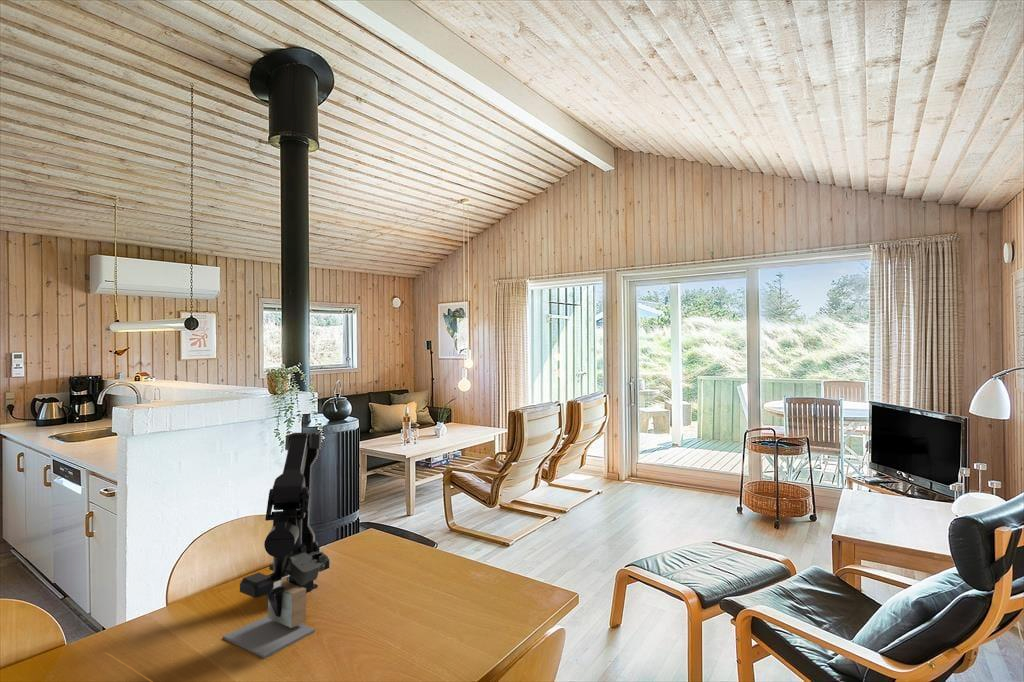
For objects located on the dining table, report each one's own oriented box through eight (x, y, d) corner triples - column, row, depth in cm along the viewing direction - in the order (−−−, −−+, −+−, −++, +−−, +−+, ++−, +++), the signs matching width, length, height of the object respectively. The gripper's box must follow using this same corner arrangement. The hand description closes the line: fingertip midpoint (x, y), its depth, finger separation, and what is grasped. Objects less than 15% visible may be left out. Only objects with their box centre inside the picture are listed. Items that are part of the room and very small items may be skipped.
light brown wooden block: (267, 618, 117) (268, 586, 117) (282, 611, 120) (282, 580, 121) (291, 628, 113) (291, 594, 113) (305, 621, 116) (306, 588, 116)
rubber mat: (222, 638, 112) (222, 635, 112) (274, 614, 122) (274, 612, 122) (264, 658, 105) (264, 655, 105) (315, 631, 115) (315, 629, 115)
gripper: (272, 562, 105) (270, 642, 105) (346, 535, 121) (345, 604, 121) (238, 550, 111) (237, 627, 110) (314, 526, 127) (312, 593, 126)
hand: (286, 612), depth 117 cm, fingers closed on light brown wooden block, 4 cm apart
